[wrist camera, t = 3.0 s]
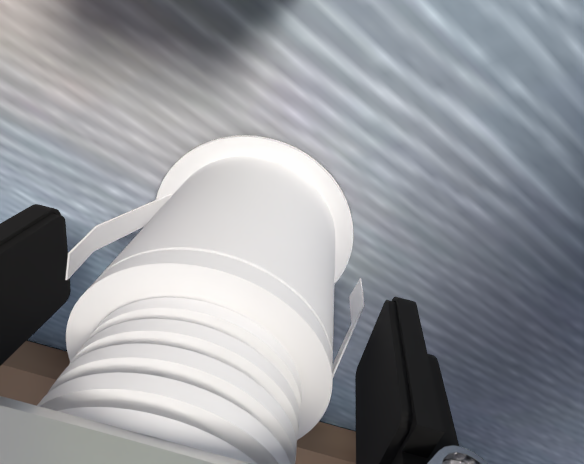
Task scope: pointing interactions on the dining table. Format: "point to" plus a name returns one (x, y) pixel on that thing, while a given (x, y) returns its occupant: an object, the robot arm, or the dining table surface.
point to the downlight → (216, 305)
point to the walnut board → (52, 362)
